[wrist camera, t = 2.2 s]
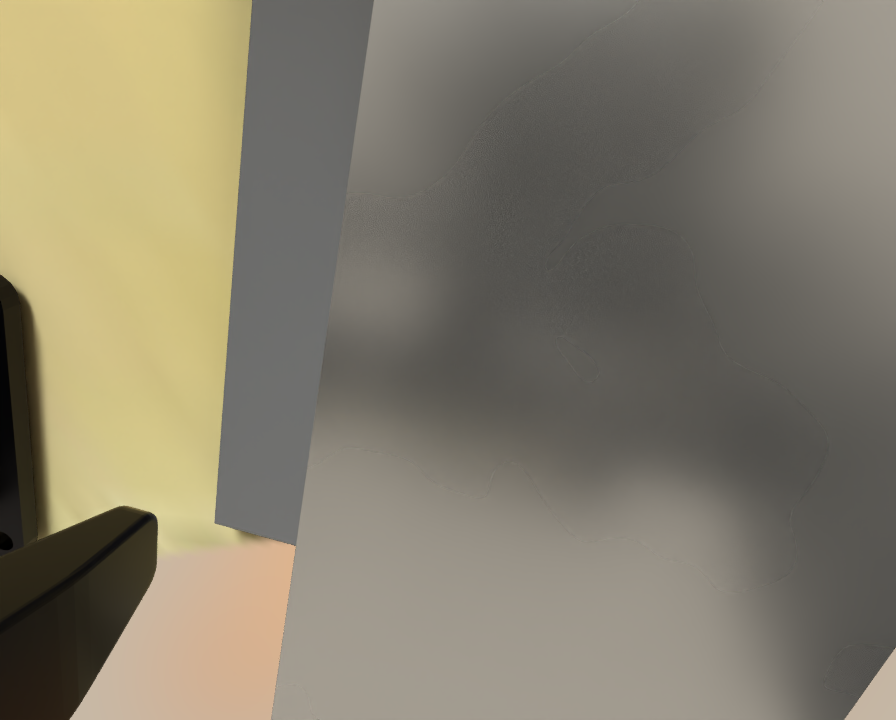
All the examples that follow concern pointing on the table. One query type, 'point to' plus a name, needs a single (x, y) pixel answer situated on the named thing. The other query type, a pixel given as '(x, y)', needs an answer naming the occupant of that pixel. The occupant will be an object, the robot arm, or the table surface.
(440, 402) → the grey long block
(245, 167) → the board
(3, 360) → the robot arm
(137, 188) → the table surface
